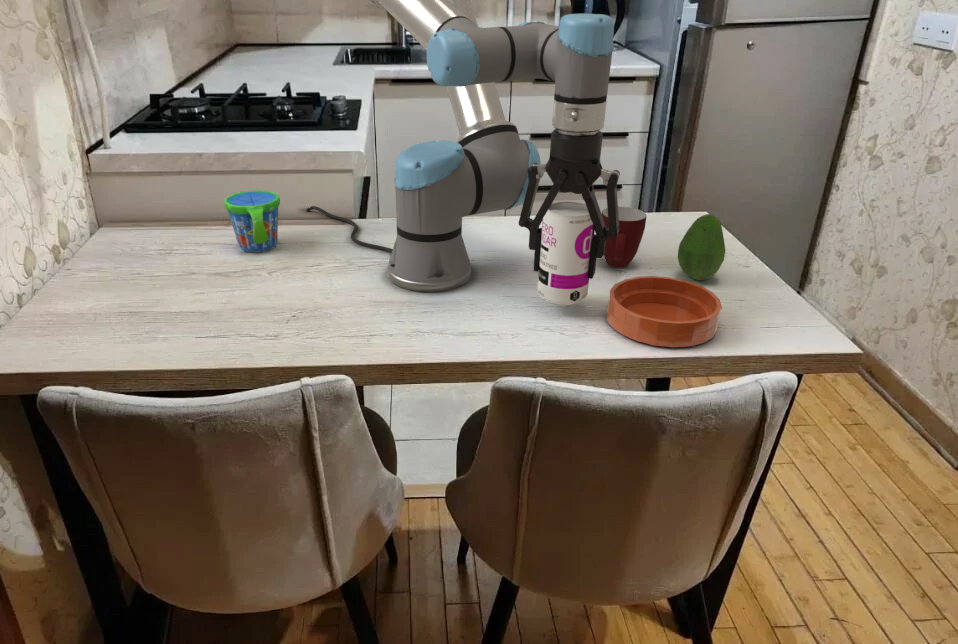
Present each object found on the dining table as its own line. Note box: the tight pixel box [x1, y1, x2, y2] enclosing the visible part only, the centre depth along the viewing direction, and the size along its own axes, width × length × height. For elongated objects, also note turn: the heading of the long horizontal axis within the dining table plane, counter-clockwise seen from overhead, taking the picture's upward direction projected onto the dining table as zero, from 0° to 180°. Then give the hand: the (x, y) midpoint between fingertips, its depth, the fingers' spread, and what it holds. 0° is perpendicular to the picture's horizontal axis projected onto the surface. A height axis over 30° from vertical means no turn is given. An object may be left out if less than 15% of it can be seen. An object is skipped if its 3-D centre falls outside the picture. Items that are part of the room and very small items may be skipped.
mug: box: [601, 206, 648, 269], centre depth 134 cm, size 10×8×10 cm
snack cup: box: [224, 189, 281, 253], centre depth 144 cm, size 16×10×10 cm
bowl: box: [606, 275, 723, 348], centre depth 116 cm, size 17×17×4 cm
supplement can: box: [536, 201, 595, 306], centre depth 117 cm, size 8×8×15 cm
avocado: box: [677, 213, 726, 281], centre depth 129 cm, size 8×8×12 cm
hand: (564, 271), depth 118 cm, fingers closed on supplement can, 8 cm apart
